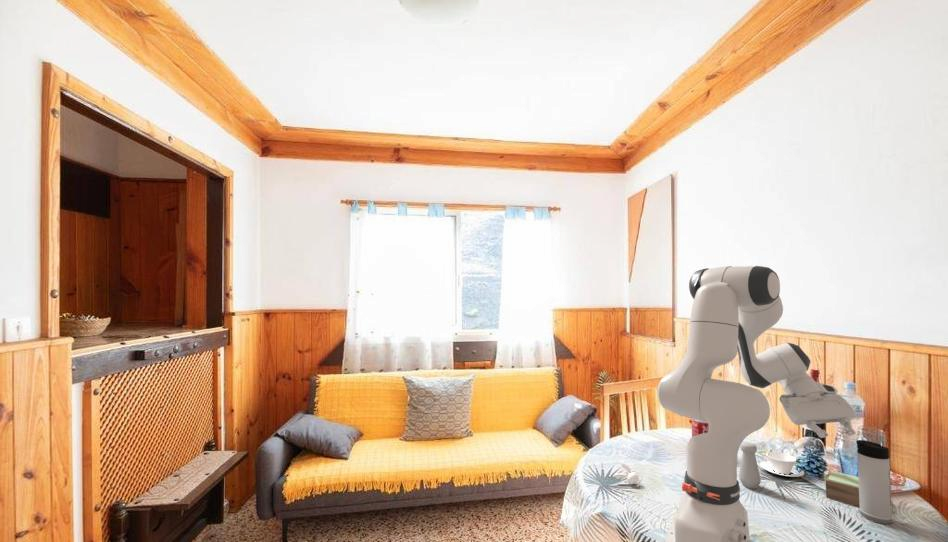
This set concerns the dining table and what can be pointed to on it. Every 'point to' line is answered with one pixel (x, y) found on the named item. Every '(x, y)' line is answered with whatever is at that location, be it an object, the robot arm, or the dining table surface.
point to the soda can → (699, 427)
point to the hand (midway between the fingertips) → (838, 435)
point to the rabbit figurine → (628, 475)
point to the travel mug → (874, 482)
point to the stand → (842, 488)
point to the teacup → (779, 463)
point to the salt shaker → (749, 466)
